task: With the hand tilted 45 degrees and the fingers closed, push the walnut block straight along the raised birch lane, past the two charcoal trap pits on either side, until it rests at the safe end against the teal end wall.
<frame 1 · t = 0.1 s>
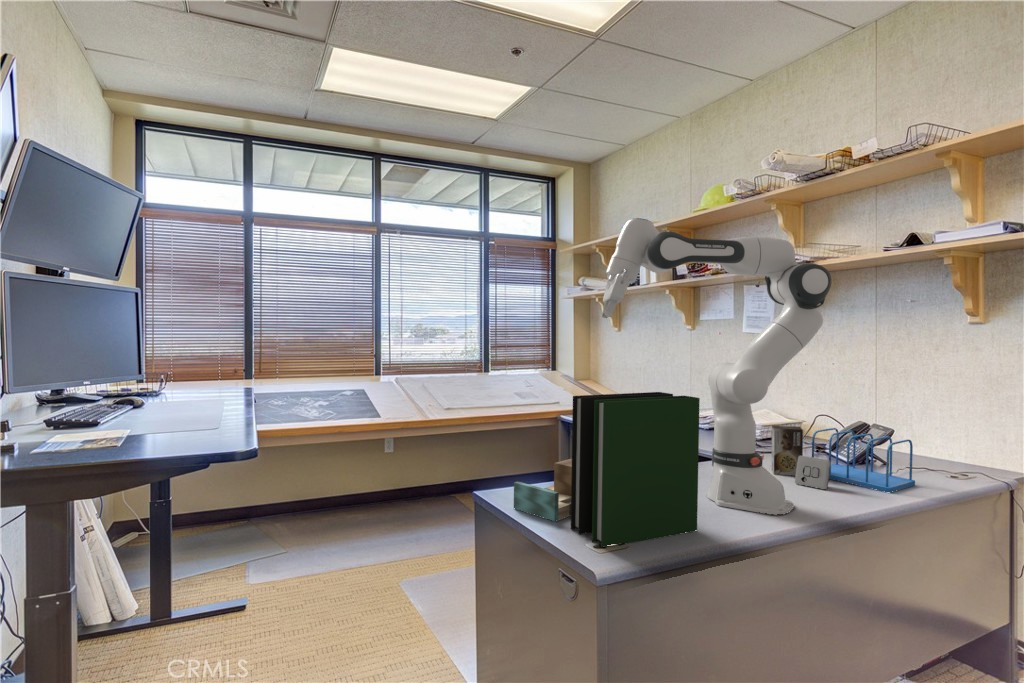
hand: (605, 317, 158), 52 cm above the table, tool tilted 20°, fingers open, 8 cm apart
walnut block: (571, 491, 151), point 3 cm above the table, touching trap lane
file sorter: (859, 481, 180), on the table
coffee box: (786, 474, 187), on the table
electrical switch: (812, 486, 172), on the table
binders: (631, 530, 130), on the table
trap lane: (557, 506, 147), on the table
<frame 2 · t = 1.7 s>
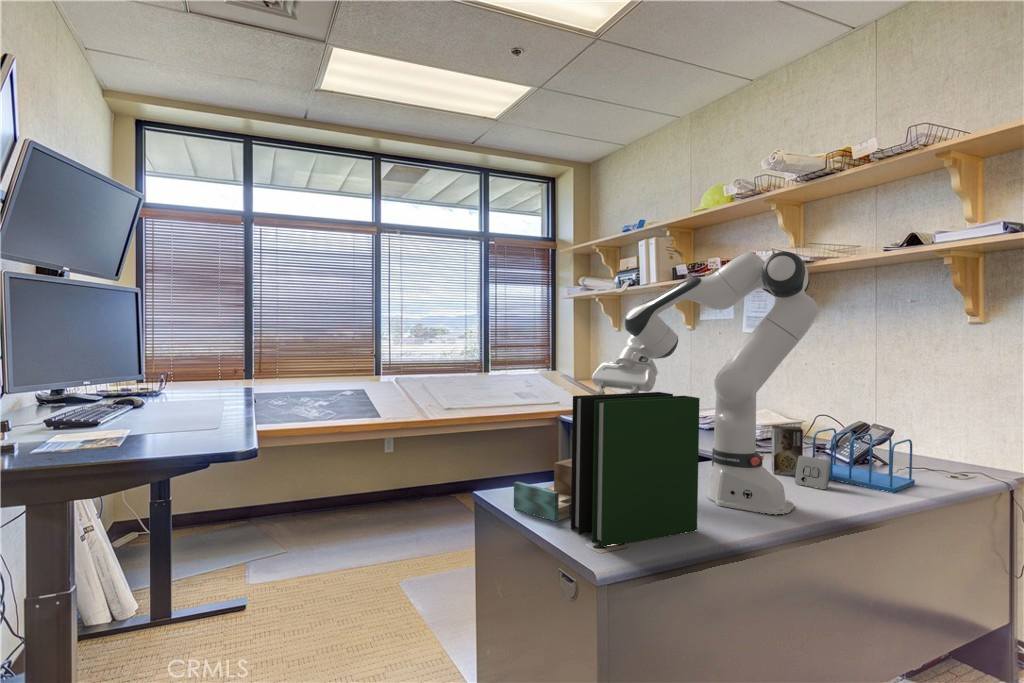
hand: (613, 397, 166), 28 cm above the table, tool tilted 45°, fingers open, 8 cm apart
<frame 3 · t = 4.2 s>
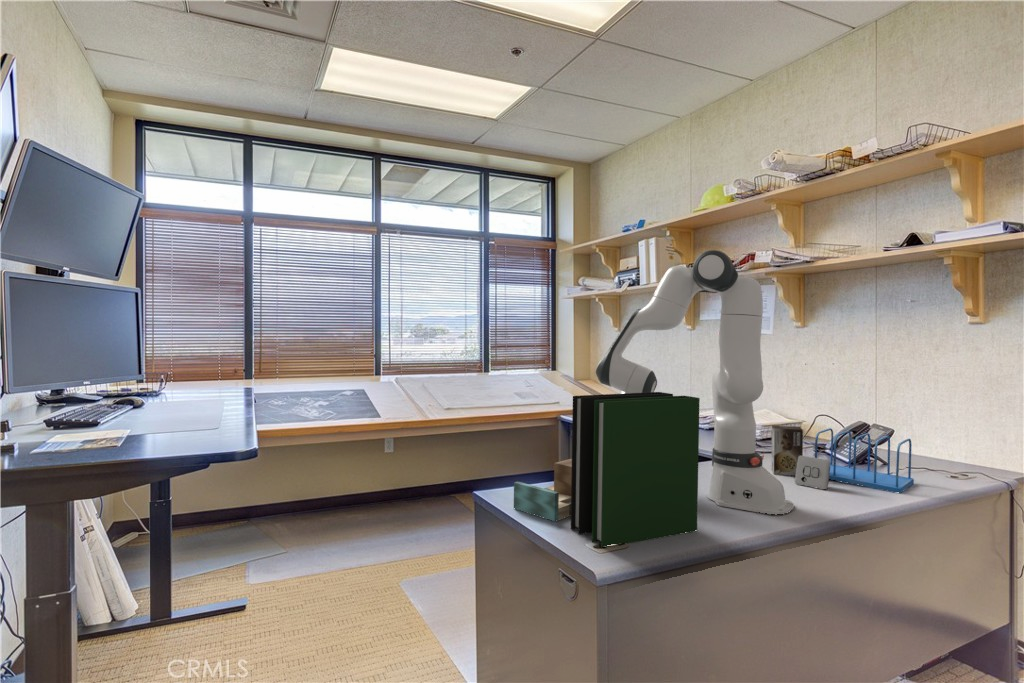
hand: (603, 449, 164), 12 cm above the table, tool tilted 45°, fingers closed
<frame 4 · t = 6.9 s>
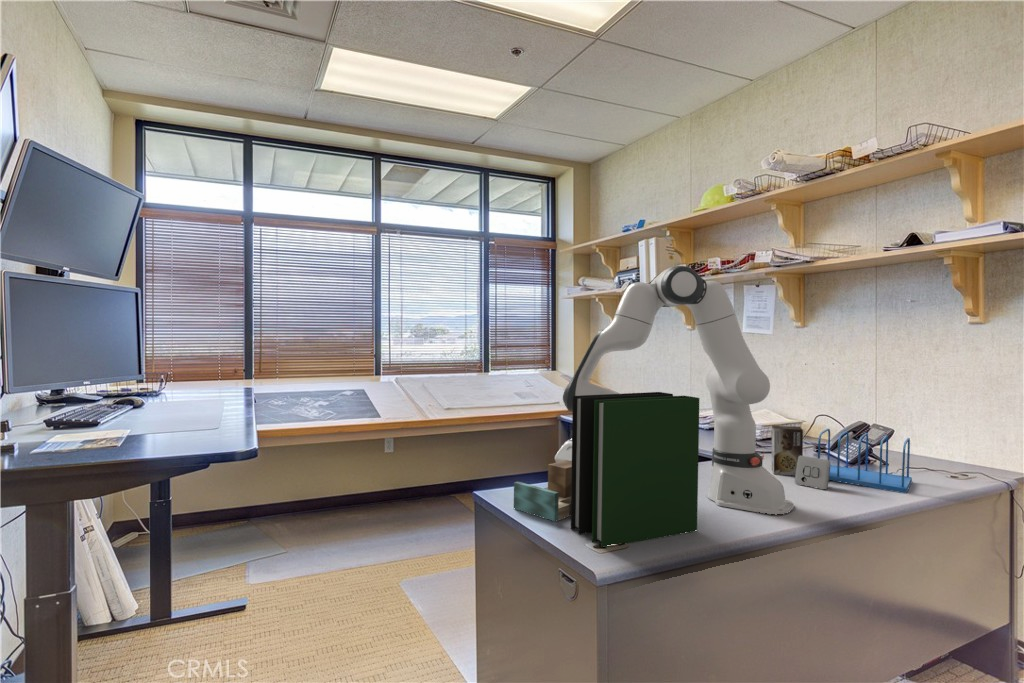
hand: (575, 482, 153), 5 cm above the table, tool tilted 45°, fingers closed, pressing on walnut block
walnut block: (565, 492, 149), point 3 cm above the table, touching gripper, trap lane
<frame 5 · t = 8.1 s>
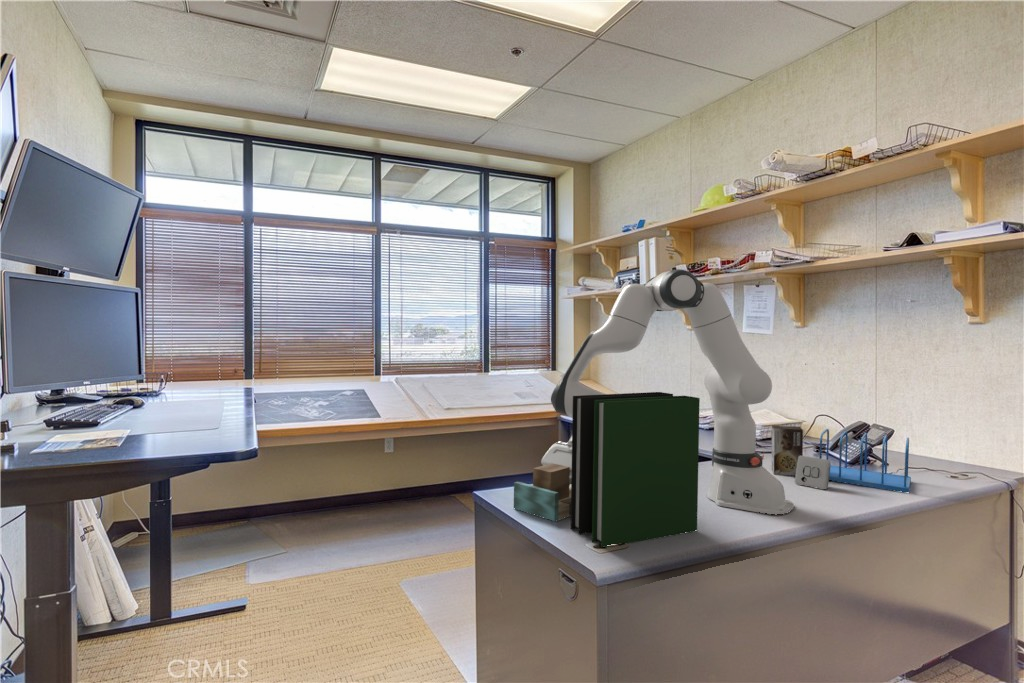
hand: (561, 486, 148), 5 cm above the table, tool tilted 45°, fingers closed, pressing on walnut block
walnut block: (551, 497, 145), point 3 cm above the table, touching gripper
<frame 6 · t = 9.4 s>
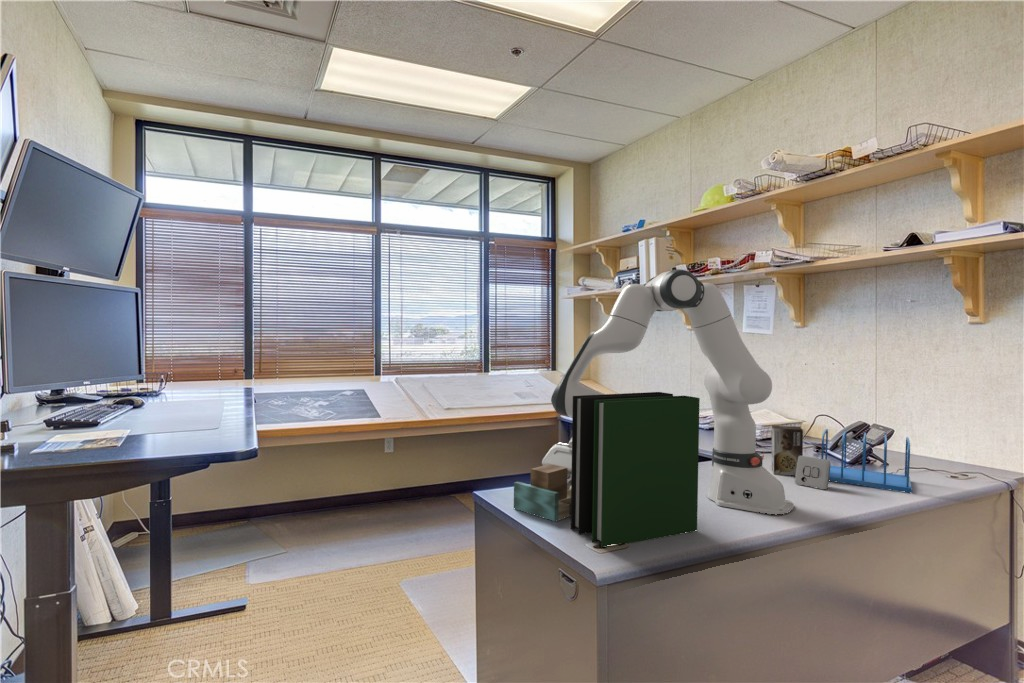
hand: (562, 487, 148), 5 cm above the table, tool tilted 45°, fingers closed
walnut block: (548, 498, 144), point 3 cm above the table, touching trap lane
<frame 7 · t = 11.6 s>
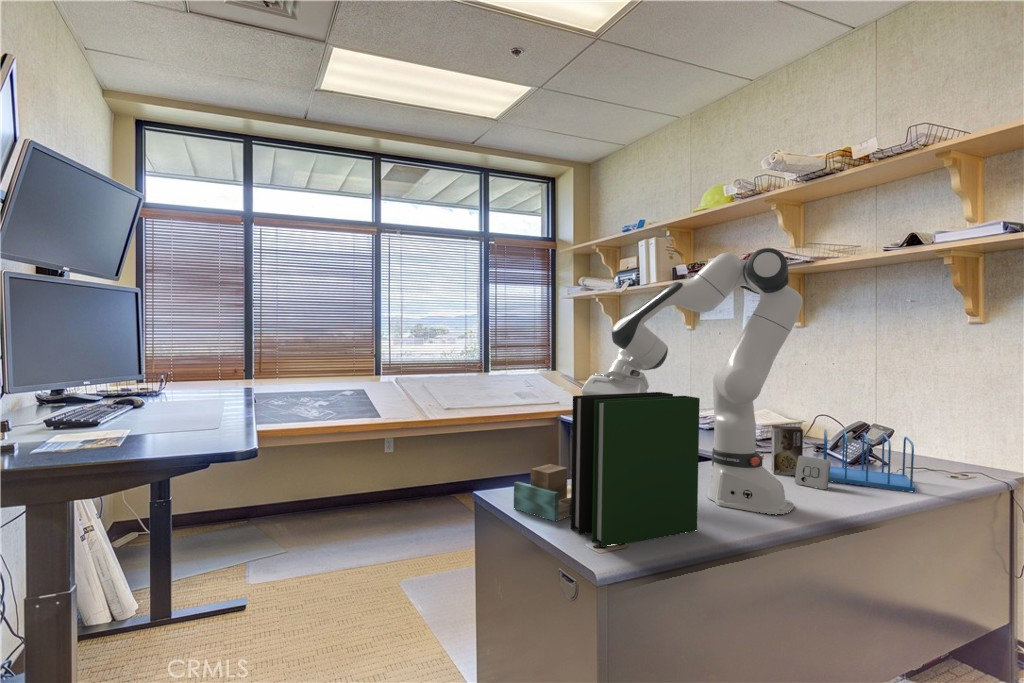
hand: (604, 411, 162), 24 cm above the table, tool tilted 45°, fingers closed
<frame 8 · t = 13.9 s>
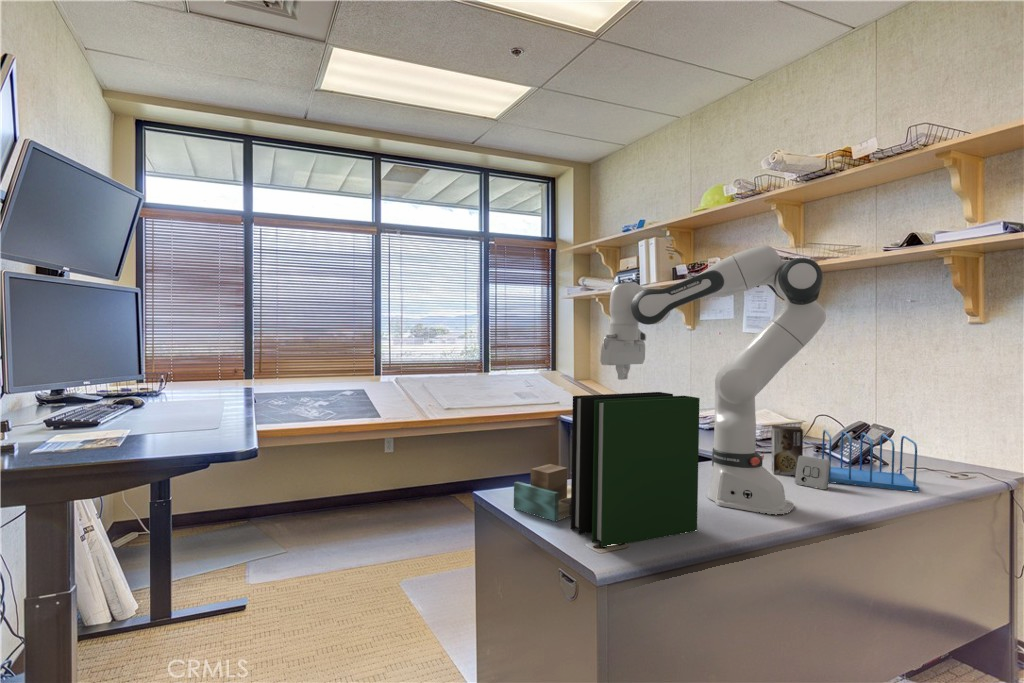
hand: (622, 379, 168), 33 cm above the table, tool pointing down, fingers closed
at the end: walnut block inside the target area (0.5 cm from its centre), point 3.0 cm above the table; walnut block tilted 0° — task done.
